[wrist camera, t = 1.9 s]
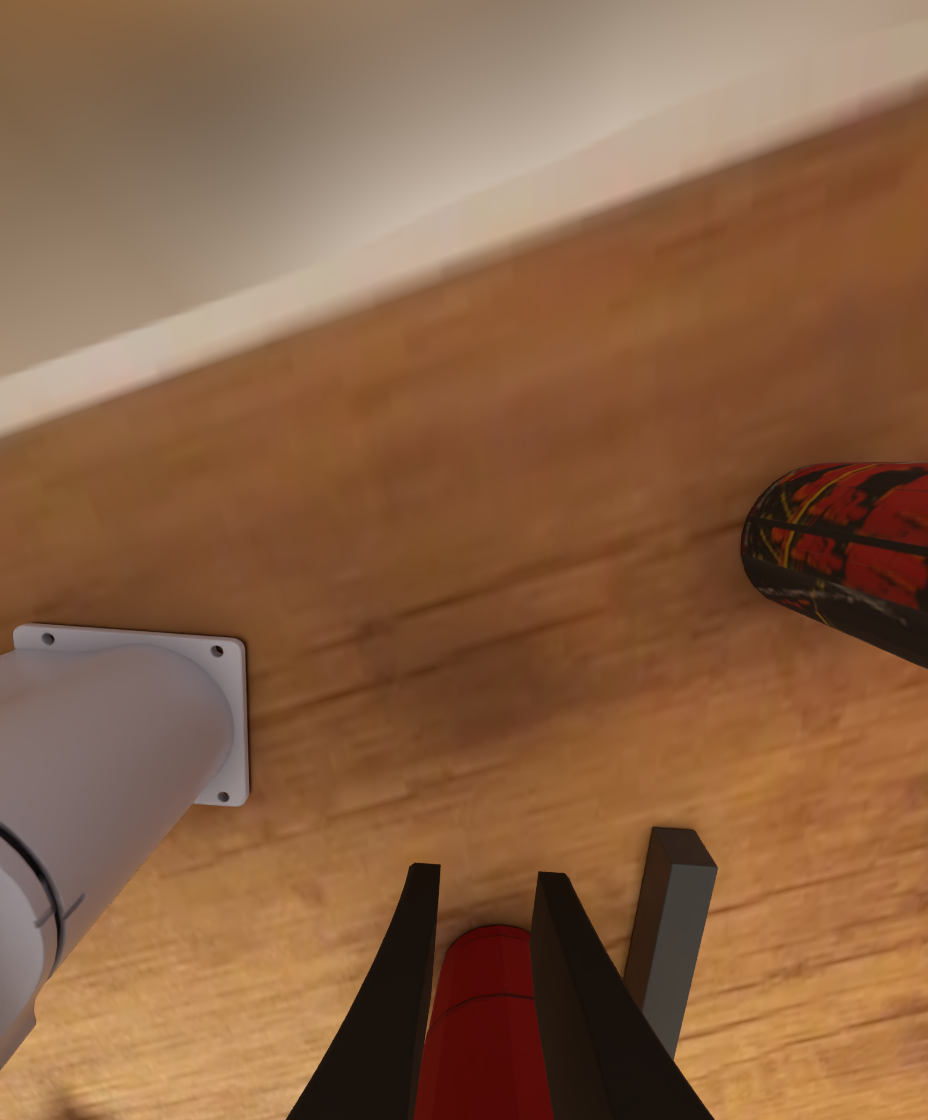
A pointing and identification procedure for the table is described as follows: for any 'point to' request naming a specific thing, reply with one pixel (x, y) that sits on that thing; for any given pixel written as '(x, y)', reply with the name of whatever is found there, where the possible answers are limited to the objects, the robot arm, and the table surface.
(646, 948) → the rail
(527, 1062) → the plastic cup
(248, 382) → the table surface
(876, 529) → the deodorant
